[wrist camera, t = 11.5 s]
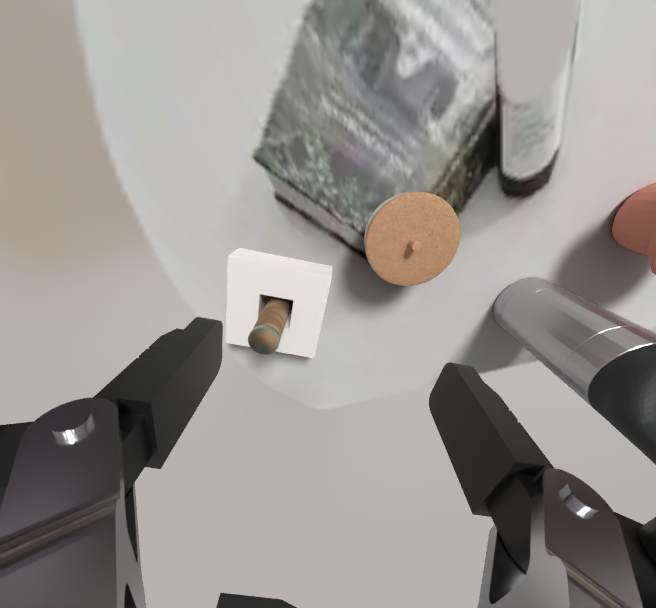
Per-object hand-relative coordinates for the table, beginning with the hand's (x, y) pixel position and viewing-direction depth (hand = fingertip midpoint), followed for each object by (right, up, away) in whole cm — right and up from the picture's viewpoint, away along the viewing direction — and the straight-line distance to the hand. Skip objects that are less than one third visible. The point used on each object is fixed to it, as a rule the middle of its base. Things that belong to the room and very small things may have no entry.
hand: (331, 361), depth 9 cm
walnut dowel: (-8, +3, +32) cm, 33 cm away
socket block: (-8, +3, +32) cm, 33 cm away
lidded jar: (+10, +12, +27) cm, 32 cm away
